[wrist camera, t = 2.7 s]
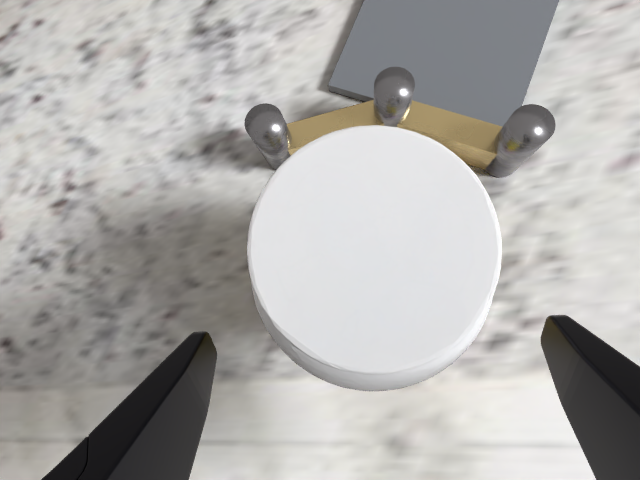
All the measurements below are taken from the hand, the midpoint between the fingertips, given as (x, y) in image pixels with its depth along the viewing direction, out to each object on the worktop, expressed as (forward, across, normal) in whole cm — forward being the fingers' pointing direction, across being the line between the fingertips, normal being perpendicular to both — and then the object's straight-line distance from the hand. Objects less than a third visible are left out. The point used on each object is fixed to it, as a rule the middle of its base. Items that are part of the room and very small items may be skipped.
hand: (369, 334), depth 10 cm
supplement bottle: (+8, 0, +5) cm, 10 cm away
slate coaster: (+17, -5, -4) cm, 19 cm away
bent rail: (+12, -2, 0) cm, 13 cm away
